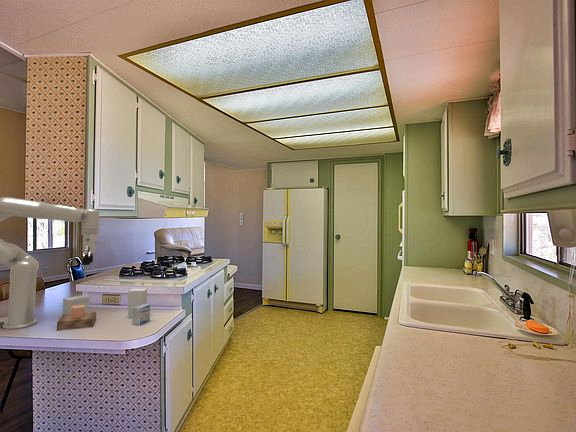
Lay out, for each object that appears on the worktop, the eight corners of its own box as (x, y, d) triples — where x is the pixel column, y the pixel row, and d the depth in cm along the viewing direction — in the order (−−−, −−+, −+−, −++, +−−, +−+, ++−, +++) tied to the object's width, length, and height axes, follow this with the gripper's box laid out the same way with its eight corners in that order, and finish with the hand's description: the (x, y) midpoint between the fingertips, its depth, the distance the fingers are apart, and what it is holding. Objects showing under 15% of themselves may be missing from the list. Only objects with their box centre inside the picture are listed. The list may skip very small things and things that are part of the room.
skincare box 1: (83, 313, 162) (84, 294, 162) (89, 315, 159) (90, 296, 159) (61, 318, 153) (62, 298, 153) (67, 320, 150) (69, 299, 150)
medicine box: (139, 325, 146) (140, 308, 146) (131, 324, 147) (132, 307, 147) (149, 320, 154) (150, 304, 154) (142, 320, 155) (143, 303, 155)
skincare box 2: (146, 314, 164) (148, 287, 164) (143, 317, 158) (144, 290, 158) (130, 314, 162) (131, 287, 163) (126, 318, 156) (128, 290, 157)
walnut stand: (56, 330, 135) (57, 321, 135) (62, 322, 146) (63, 314, 146) (92, 326, 142) (93, 318, 142) (95, 319, 152) (96, 311, 152)
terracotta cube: (70, 318, 141) (71, 308, 141) (72, 315, 145) (73, 305, 145) (83, 317, 143) (83, 307, 143) (84, 314, 147) (85, 304, 147)
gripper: (95, 232, 152) (93, 265, 151) (99, 231, 167) (98, 261, 166) (78, 232, 148) (76, 266, 148) (84, 231, 164) (82, 261, 163)
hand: (87, 263), depth 157 cm, fingers open, 9 cm apart
